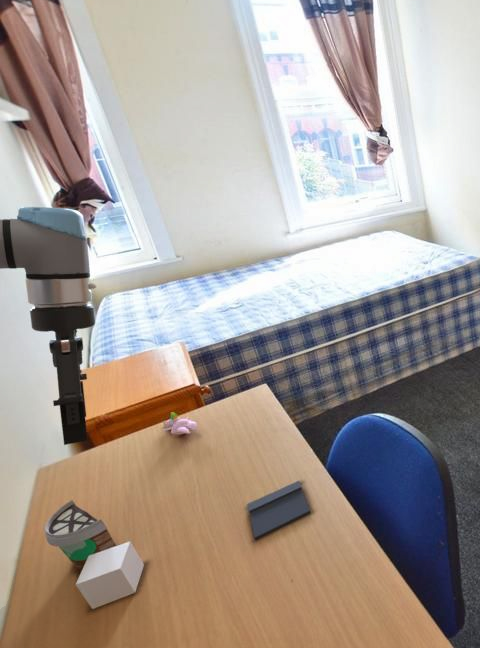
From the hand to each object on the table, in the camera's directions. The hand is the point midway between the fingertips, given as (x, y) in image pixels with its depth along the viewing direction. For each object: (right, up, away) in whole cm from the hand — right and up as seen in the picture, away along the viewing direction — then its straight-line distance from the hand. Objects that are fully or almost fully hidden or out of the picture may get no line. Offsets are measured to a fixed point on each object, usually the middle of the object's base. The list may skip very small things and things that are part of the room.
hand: (76, 429), depth 79 cm
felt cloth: (+27, -20, +15) cm, 37 cm away
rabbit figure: (-12, -12, +43) cm, 46 cm away
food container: (-4, -26, +7) cm, 28 cm away
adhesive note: (+6, -28, +2) cm, 28 cm away
